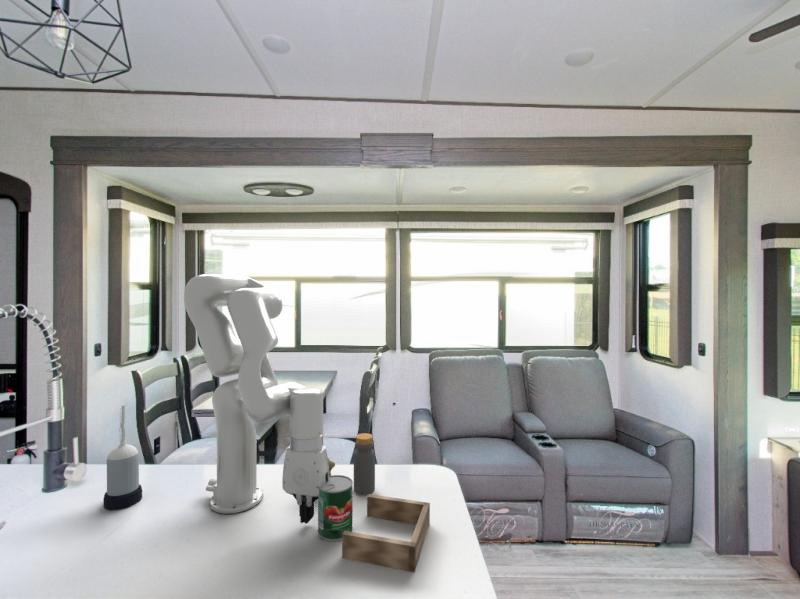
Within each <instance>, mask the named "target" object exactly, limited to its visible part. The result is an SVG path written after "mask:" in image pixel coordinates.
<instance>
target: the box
mask: <svg viewBox="0 0 800 599" xmlns="http://www.w3.org/2000/svg"><path fill="white" fill-rule="evenodd" d="M430 506H431V503H430V502H425V501H418V500H412V499H406V498H398V497H391V496H386V495H379V494H373V493H371V494H368V495H366V517H367V518H371V519H378V520H383V521H384V520H385V521H391V522H396V523H397V522H398V523H404V524H409V525H414V526H415V527H414V531H413V533H412V535H411V539H410V541H407V540H402V539H396V538H390V537H384V536H377V535H373V534H367V533H362V532H355V531H352V532H350V531H344V532H343V534H342V541H341V545H342V546H341V547H342V548H341V549H342V550H341V554H342V555H341V558H342V559H345V560H350V561H355V562H361V563H366V564H371V565H377V566H381V567H385V568H392V569H396V570H403V571H408V572H413V573H416V569H417V567H418V562H419V558H420V555H421V553H422V550H423V547H424V543H425V540H426V537H427V533H428V531H429V527H430V518H431V516H430V514H431V512H430V511H431V510H430V509H431V508H430Z"/></svg>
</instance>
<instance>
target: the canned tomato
mask: <svg viewBox="0 0 800 599" xmlns="http://www.w3.org/2000/svg"><path fill="white" fill-rule="evenodd" d="M353 486H354V480H353V479H351V477H349V476H347V475H342V474H334V475H332V474H331V476H329V481H328V479H326V483H325V486H323V487H322V488H320V487H318V488H319V496H318V499H317V534H318V536H319V538H321V539H322V540H325V541H328V542H336V541H337V542H339V541H341V540H342V534H343V532H344V531H350V532H353V530H354V528H353V519H354V518H353V516H354V515H353V512H354V511H353V510H354V509H353V506H354V505H353V502H354V501H353V498H354V497H353V492H354V487H353Z"/></svg>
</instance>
